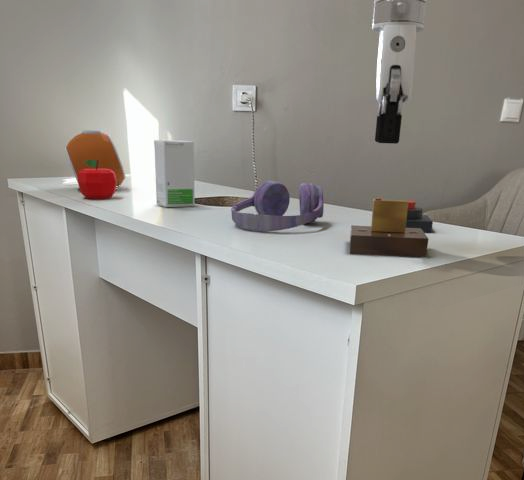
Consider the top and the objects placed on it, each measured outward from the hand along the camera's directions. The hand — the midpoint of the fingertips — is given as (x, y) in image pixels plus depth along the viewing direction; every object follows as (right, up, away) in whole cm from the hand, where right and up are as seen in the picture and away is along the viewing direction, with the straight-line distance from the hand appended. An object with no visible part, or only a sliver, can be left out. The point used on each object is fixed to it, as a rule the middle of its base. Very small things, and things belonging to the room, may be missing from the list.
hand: (386, 142), depth 88 cm
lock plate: (+1, -16, +5) cm, 17 cm away
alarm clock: (-72, +18, +87) cm, 114 cm away
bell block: (+10, -8, +27) cm, 29 cm away
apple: (-65, +9, +66) cm, 93 cm away
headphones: (-17, -7, +27) cm, 33 cm away
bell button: (+10, -4, +25) cm, 27 cm away
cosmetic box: (-42, +4, +53) cm, 68 cm away
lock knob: (+1, -13, +4) cm, 14 cm away
